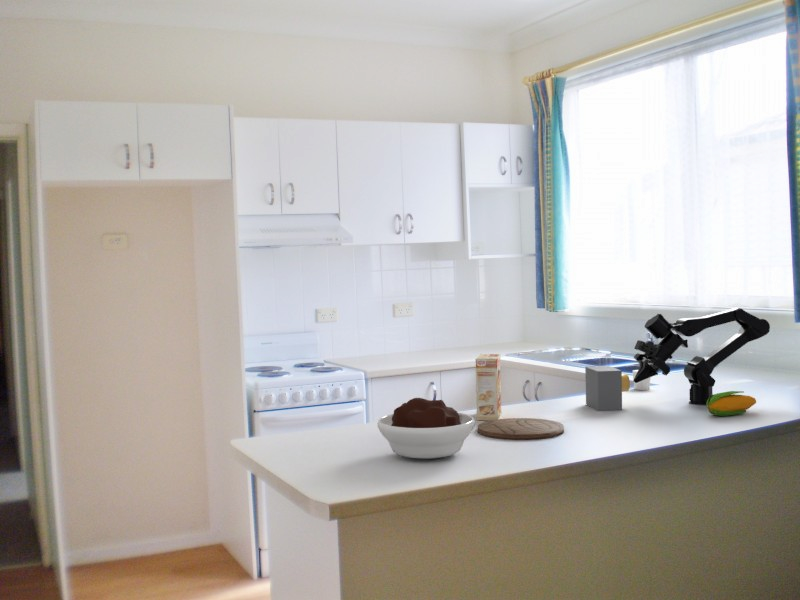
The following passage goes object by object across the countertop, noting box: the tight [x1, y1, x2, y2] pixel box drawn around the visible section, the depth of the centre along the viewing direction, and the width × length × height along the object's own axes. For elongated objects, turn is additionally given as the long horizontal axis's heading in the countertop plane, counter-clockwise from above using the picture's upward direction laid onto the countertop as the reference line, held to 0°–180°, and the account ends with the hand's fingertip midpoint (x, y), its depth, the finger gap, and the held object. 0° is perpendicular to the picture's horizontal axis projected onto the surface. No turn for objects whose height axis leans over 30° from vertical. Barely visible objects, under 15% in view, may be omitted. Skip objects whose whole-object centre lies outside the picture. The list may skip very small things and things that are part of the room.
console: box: [584, 365, 623, 412], centre depth 277 cm, size 8×13×13 cm, turn 5°
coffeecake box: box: [475, 353, 502, 421], centre depth 266 cm, size 15×7×20 cm, turn 168°
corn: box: [706, 390, 757, 417], centre depth 259 cm, size 7×8×20 cm
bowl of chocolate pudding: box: [377, 397, 476, 460], centre depth 213 cm, size 25×25×15 cm
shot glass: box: [632, 369, 651, 391], centre depth 315 cm, size 7×7×7 cm
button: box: [622, 373, 631, 393], centre depth 278 cm, size 6×6×6 cm
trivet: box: [477, 417, 565, 441], centre depth 241 cm, size 25×25×2 cm
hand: (634, 381), depth 278 cm, fingers closed
